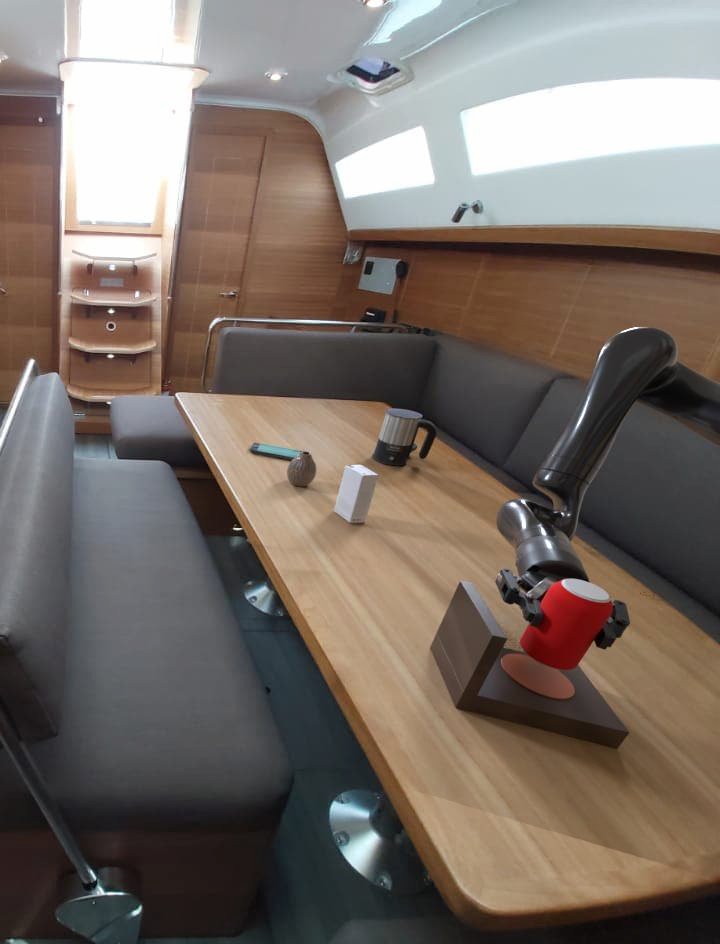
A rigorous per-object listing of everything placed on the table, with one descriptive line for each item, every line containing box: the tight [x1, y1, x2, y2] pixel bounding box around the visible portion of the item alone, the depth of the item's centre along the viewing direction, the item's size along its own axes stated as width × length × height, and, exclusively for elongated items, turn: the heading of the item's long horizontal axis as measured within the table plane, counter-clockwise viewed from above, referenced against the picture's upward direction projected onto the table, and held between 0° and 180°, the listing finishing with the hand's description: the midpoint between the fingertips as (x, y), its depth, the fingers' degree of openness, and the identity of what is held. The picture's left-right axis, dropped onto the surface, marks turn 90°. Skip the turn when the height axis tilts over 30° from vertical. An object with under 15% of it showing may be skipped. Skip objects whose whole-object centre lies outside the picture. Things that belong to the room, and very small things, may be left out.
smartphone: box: [249, 442, 304, 461], centre depth 150 cm, size 7×1×15 cm
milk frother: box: [371, 408, 438, 467], centre depth 148 cm, size 14×16×15 cm
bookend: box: [429, 580, 630, 749], centre depth 68 cm, size 18×12×13 cm, turn 72°
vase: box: [286, 450, 317, 488], centre depth 130 cm, size 7×7×9 cm
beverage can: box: [519, 579, 613, 671], centre depth 66 cm, size 6×6×12 cm
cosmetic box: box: [333, 464, 379, 524], centre depth 114 cm, size 6×4×12 cm
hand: (570, 632), depth 64 cm, fingers closed on beverage can, 6 cm apart
